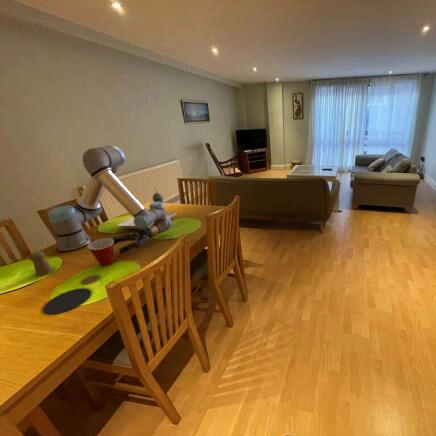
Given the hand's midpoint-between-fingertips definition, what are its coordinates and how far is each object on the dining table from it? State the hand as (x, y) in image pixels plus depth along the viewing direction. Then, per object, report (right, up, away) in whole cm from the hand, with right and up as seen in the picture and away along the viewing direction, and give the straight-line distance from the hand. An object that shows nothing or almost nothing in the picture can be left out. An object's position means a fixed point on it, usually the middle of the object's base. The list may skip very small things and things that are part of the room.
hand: (111, 249), depth 125 cm
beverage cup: (-12, +21, +69) cm, 73 cm away
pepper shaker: (-28, -11, -7) cm, 30 cm away
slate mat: (+2, -18, -26) cm, 32 cm away
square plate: (-8, +12, +47) cm, 50 cm away
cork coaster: (0, -13, -13) cm, 18 cm away
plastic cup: (-1, -8, -1) cm, 8 cm away
